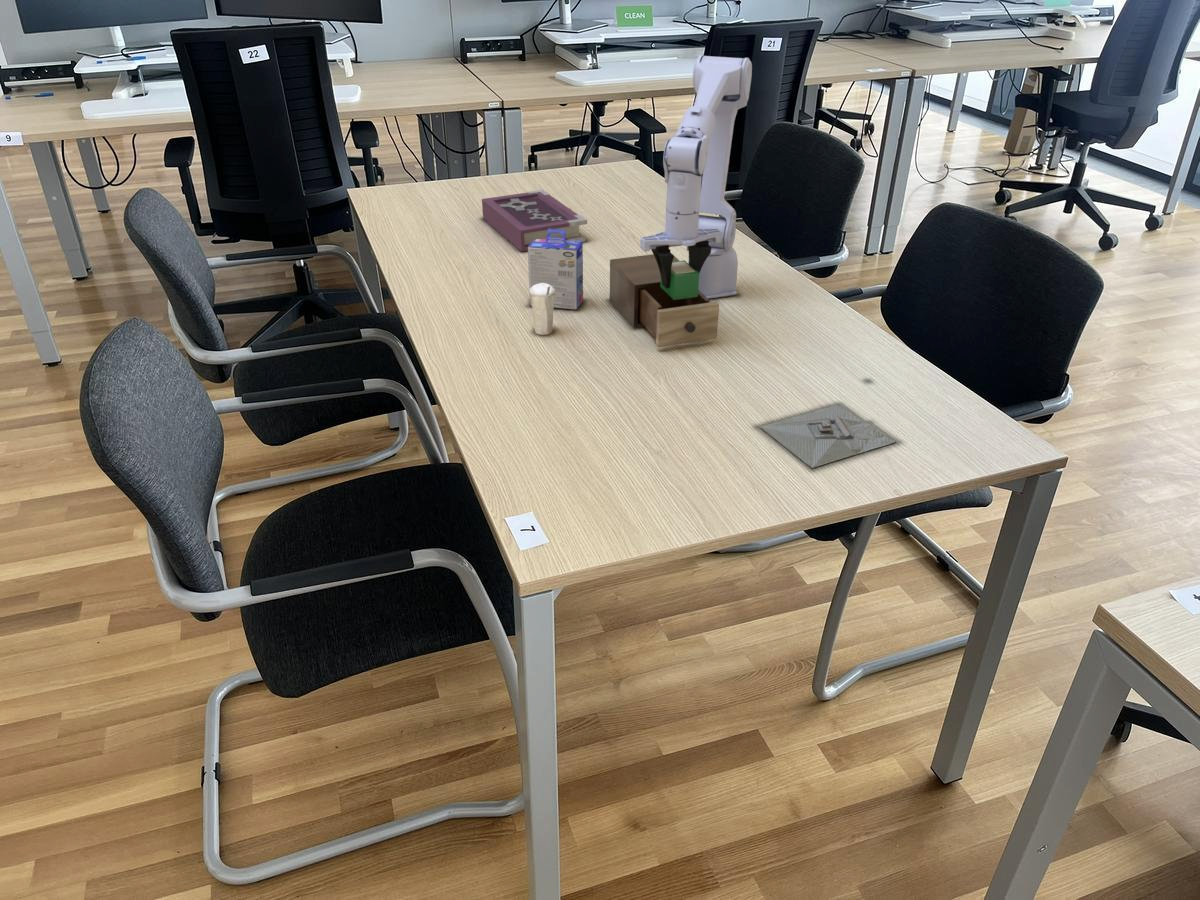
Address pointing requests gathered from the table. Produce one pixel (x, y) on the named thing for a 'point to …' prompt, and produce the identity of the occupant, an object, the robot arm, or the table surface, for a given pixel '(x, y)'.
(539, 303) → the milkshake
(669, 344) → the drawer
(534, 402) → the table surface
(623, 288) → the cabinet
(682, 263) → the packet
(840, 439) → the grey flat square slab
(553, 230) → the ink cartridge box
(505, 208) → the book
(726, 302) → the table surface
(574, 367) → the table surface
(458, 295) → the table surface
